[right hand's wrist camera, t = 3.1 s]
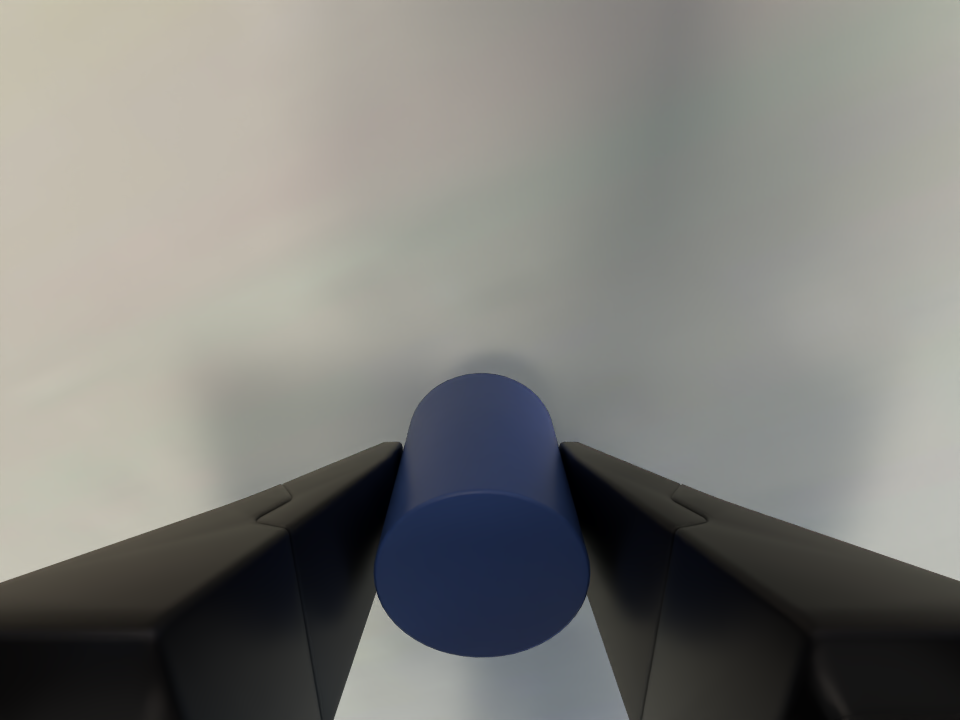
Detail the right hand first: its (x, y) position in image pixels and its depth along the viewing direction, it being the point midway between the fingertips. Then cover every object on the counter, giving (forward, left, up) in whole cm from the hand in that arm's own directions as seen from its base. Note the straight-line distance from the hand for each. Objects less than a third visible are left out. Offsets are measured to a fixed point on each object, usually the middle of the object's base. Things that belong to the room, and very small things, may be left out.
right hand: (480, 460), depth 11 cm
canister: (0, 0, -1) cm, 1 cm away
